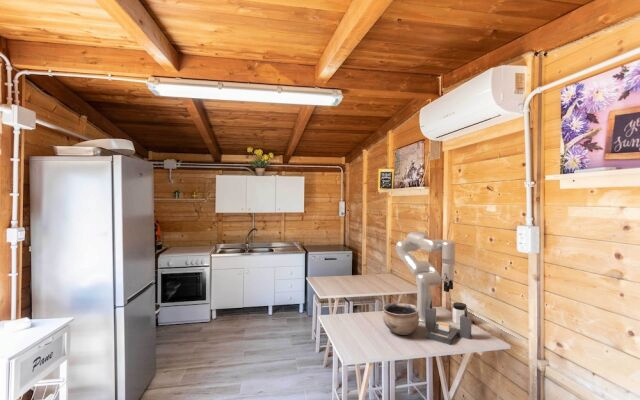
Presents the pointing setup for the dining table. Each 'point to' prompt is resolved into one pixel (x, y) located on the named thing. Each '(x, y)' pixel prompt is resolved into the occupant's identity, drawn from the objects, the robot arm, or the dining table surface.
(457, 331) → the breaker panel
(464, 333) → the right plug adapter
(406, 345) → the dining table surface
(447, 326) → the block
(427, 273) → the robot arm
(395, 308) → the ceramic bowl
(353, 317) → the dining table surface
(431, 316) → the left plug adapter
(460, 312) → the jar
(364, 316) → the dining table surface
